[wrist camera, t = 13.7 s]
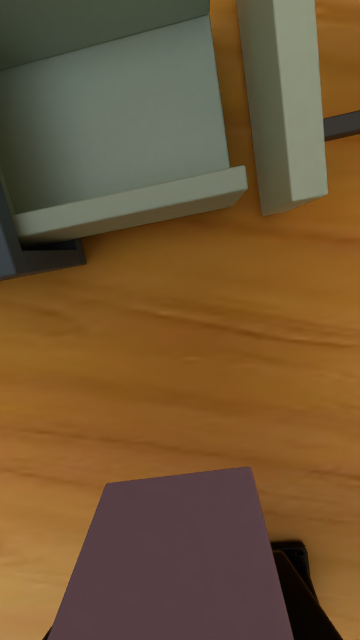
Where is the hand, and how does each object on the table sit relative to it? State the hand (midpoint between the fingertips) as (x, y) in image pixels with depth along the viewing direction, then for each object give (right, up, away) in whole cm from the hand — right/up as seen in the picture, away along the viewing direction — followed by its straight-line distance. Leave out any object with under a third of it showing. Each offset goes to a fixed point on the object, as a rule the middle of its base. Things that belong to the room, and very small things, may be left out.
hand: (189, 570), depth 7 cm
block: (0, 0, +1) cm, 1 cm away
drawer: (0, +15, +6) cm, 17 cm away
